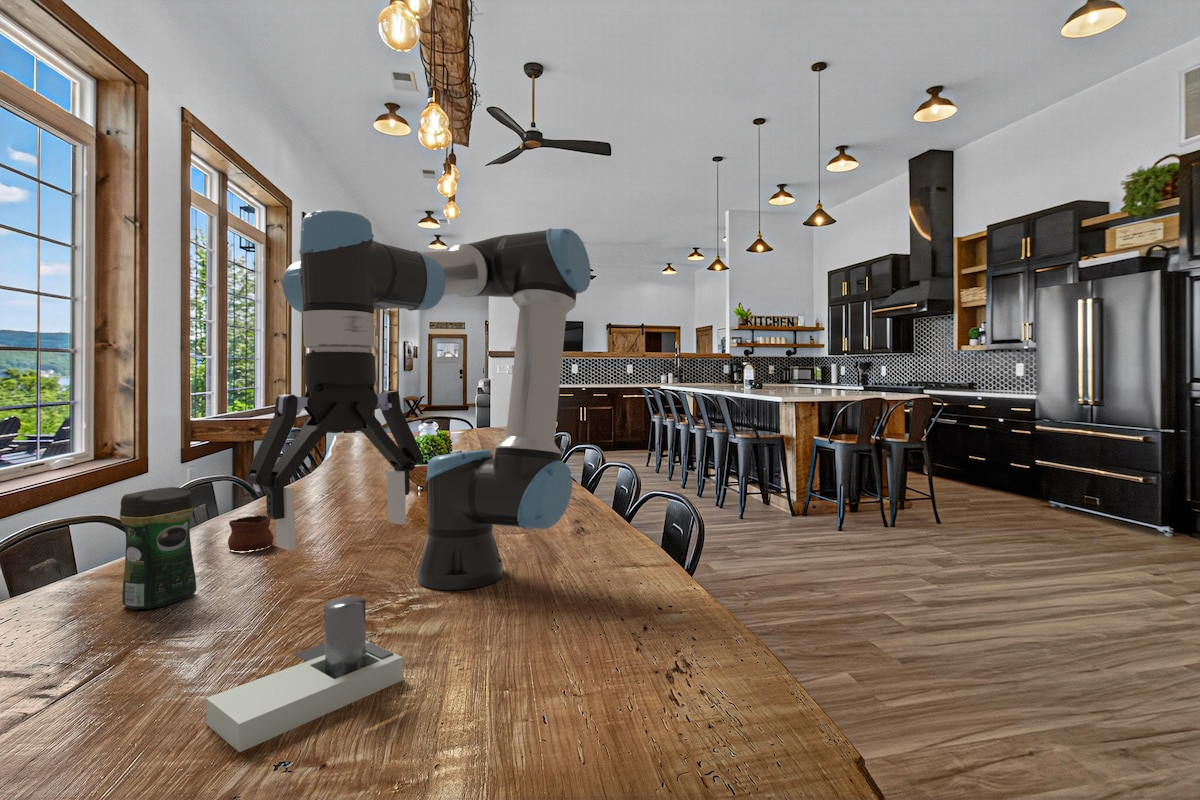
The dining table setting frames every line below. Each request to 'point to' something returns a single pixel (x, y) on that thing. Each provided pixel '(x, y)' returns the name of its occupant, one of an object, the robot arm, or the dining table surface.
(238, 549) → the ceramic pot
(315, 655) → the mat
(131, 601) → the coffee jar
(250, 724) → the slotted holder block
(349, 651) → the barrel peg
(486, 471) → the robot arm
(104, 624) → the dining table surface
